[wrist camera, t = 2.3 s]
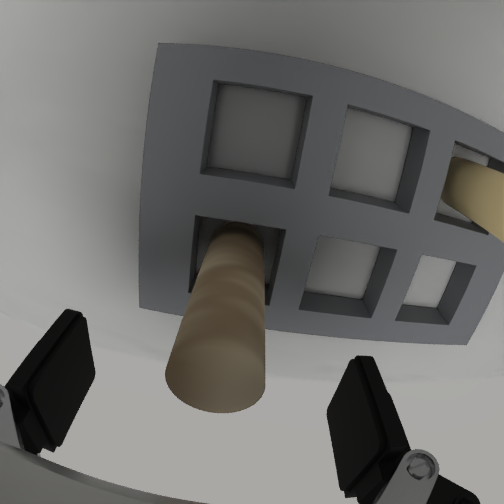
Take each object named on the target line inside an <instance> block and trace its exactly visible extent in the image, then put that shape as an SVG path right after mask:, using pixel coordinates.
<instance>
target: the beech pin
mask: <svg viewBox="0 0 504 504" xmlns="http://www.w3.org/2000/svg"><path fill="white" fill-rule="evenodd" d="M165 378H166V382H167V385H168V387H169V388H170V390H171V391H172V393H173V394H174V395H175V396H177V398H179V399H180V400H181V401H183V402H184V403H186V404H188V405H190V406H192V407H194V408H197V409H199V410H203V411H207V412H213V413H232V412H237V411H241V410H244V409H246V408H248V407H250V406H252V405H254V404H255V403H256V402H257V401H258V400H259V399H260V398H261V397H262V395H263V393H264V390H265V279H264V242H263V238H262V236H261V234H260V233H259V232H258V230H257V229H255V228H254V227H253V226H251V225H250V224H247V223H243V222H237V221H233V222H228V223H226V224H223V225H222V226H220V227H219V228H218V229H217V230H216V231H215V232H214V234H213V236H212V238H211V241H210V243H209V246H208V249H207V251H206V254H205V257H204V260H203V262H202V265H201V268H200V271H199V273H198V276H197V279H196V282H195V285H194V288H193V290H192V293H191V296H190V299H189V302H188V305H187V308H186V310H185V313H184V316H183V319H182V322H181V325H180V328H179V331H178V334H177V337H176V340H175V343H174V346H173V349H172V352H171V355H170V358H169V361H168V364H167V367H166V371H165Z"/></svg>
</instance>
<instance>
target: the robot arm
mask: <svg viewBox="0 0 504 504" xmlns="http://www.w3.org/2000/svg"><path fill="white" fill-rule="evenodd" d="M94 378H95V367H94V362H93V356H92V351H91V345H90V339H89V333H88V326H87V320H86V318H85V317H83V314H82V313H81V312H78V311H74V310H71V309H66V310H64V312H63V313H62V314H61V315H60V316H59V318H58V319H57V320H56V321H55V322H54V324H53V325H52V326H51V327H50V329H49V330H48V331H47V332H46V333H45V335H44V336H43V337H42V338H41V340H40V341H38V343H37V344H36V345H35V347H34V348H33V349H32V350H31V352H30V353H29V354H28V356H27V357H26V358H25V359H24V361H23V362H22V363H21V365H20V366H19V367H18V369H17V370H16V371H15V373H14V374H13V376H12V377H11V378H10V380H9V381H8V383H7V384H6V385H5V387H4V386H2V385H0V504H206V503H199V502H193V501H187V500H181V499H176V498H170V497H166V496H161V495H156V494H152V493H148V492H143V491H139V490H135V489H132V488H128V487H124V486H121V485H117V484H114V483H110V482H107V481H104V480H100V479H98V478H94V477H92V476H89V475H86V474H83V473H80V472H77V471H75V470H72V469H69V468H66V467H64V466H61V465H59V464H56V463H53V462H51V461H49V460H46V459H44V458H41V457H40V452H41V450H42V448H44V449H47V450H49V451H51V452H54V451H55V449H56V447H57V446H58V447H60V446H61V445H62V443H63V441H64V439H65V437H66V434H67V432H68V430H69V428H70V426H71V424H72V422H73V420H74V418H75V416H76V414H77V411H78V410H79V408H80V406H81V404H82V402H83V400H84V398H85V396H86V394H87V392H88V390H89V388H90V386H91V384H92V382H93V380H94ZM327 420H328V425H329V430H330V436H331V441H332V447H333V452H334V458H335V464H336V469H337V476H338V481H339V487H340V490H342V491H344V493H345V498H350V497H357V501H358V503H359V504H480V502H479V499H478V498H477V496H476V495H474V494H473V493H472V492H470V491H468V490H466V489H464V488H462V487H461V486H459V485H457V484H455V483H453V482H451V481H450V480H448V479H446V478H444V477H442V476H441V475H439V464H438V462H437V460H436V458H435V457H434V456H433V455H432V454H430V453H429V452H427V451H424V450H420V449H415V450H411V449H410V446H409V443H408V440H407V438H406V435H405V432H404V429H403V427H402V424H401V421H400V419H399V416H398V413H397V411H396V408H395V405H394V403H393V400H392V398H391V396H390V394H389V393H388V392H387V390H386V387H385V385H384V382H383V380H382V377H381V375H380V372H379V370H378V367H377V365H376V362H375V360H374V358H373V357H372V356H356V357H355V359H351V360H350V362H349V364H348V366H347V368H346V370H345V373H344V375H343V377H342V379H341V381H340V383H339V385H338V388H337V390H336V392H335V394H334V396H333V398H332V400H331V402H330V404H329V406H328V409H327Z"/></svg>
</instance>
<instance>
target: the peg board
mask: <svg viewBox="0 0 504 504" xmlns="http://www.w3.org/2000/svg"><path fill="white" fill-rule="evenodd" d="M219 83H220V84H229V85H237V86H244V87H251V88H257V89H264V90H270V91H275V92H281V93H286V94H292V95H297V96H302V97H306V98H307V100H306V106H305V111H304V116H303V122H302V127H301V132H300V137H299V143H298V148H297V153H296V158H295V163H294V168H293V173H292V178H291V180H287V179H281V178H276V177H270V176H264V175H258V174H252V173H246V172H239V171H233V170H226V169H219V168H212V167H207V160H208V153H209V146H210V139H211V132H212V125H213V118H214V112H215V105H216V99H217V93H218V87H219ZM347 107H349V108H352V109H356V110H360V111H363V112H367V113H370V114H374V115H377V116H381V117H384V118H387V119H390V120H393V121H396V122H400V123H403V124H406V125H409V126H411V127H413V131H412V136H411V140H410V145H409V149H408V153H407V158H406V162H405V166H404V170H403V174H402V178H401V182H400V185H399V189H398V193H397V196H396V200H395V202H391V201H386V200H382V199H378V198H374V197H369V196H365V195H361V194H356V193H352V192H347V191H342V190H338V189H333V188H330V186H331V182H332V178H333V173H334V169H335V164H336V160H337V155H338V150H339V146H340V141H341V136H342V131H343V126H344V121H345V116H346V111H347ZM454 143H457V144H459V145H461V146H464V147H466V148H468V149H471V150H473V151H475V152H478V153H480V154H482V155H484V156H486V157H489V158H490V160H489V164H488V167H486V166H483V165H480V164H478V163H475V162H472V161H469V160H466V159H464V158H460V157H454V158H451V156H452V152H453V147H454ZM440 198H441V199H442V201H443V202H445V203H446V204H448V205H449V206H451V207H452V208H454V209H455V210H457V211H459V212H460V213H462V214H463V215H465V216H466V217H468V218H469V219H471V220H472V223H468V222H465V221H462V220H458V219H455V218H451V217H448V216H444V215H441V214H437V213H436V211H437V208H438V204H439V201H440ZM201 216H205V217H211V218H218V219H224V220H230V221H237V222H243V223H249V224H256V225H262V226H268V227H274V228H280V229H281V232H280V237H279V242H278V247H277V251H276V256H275V261H274V265H273V270H272V275H271V279H270V284H269V287H267V286H265V329H269V330H277V331H284V332H292V333H301V334H310V335H319V336H328V337H338V338H349V339H361V340H373V341H387V342H402V343H421V344H446V345H467V343H468V342H469V340H470V338H471V336H472V335H473V333H474V331H475V329H476V327H477V326H478V324H479V322H480V320H481V318H482V316H483V314H484V312H485V310H486V308H487V306H488V304H489V302H490V300H491V298H492V296H493V294H494V292H495V290H496V288H497V285H498V283H499V281H500V279H501V276H502V274H503V272H504V133H503V132H501V131H500V130H498V129H496V128H494V127H492V126H490V125H488V124H486V123H484V122H482V121H480V120H478V119H476V118H474V117H472V116H470V115H468V114H466V113H464V112H462V111H460V110H458V109H455V108H453V107H451V106H449V105H446V104H444V103H442V102H439V101H437V100H435V99H432V98H430V97H427V96H425V95H422V94H420V93H417V92H414V91H412V90H409V89H406V88H403V87H401V86H398V85H395V84H392V83H389V82H386V81H383V80H380V79H377V78H374V77H370V76H367V75H364V74H360V73H357V72H354V71H350V70H346V69H343V68H339V67H335V66H331V65H327V64H323V63H318V62H314V61H309V60H305V59H300V58H295V57H290V56H285V55H279V54H273V53H267V52H261V51H254V50H246V49H239V48H230V47H220V46H209V45H195V44H174V43H158V48H157V54H156V60H155V66H154V72H153V78H152V85H151V92H150V99H149V107H148V115H147V124H146V133H145V143H144V154H143V166H142V180H141V197H140V220H139V308H144V309H149V310H154V311H159V312H164V313H169V314H175V315H180V316H184V313H185V310H186V308H187V305H188V302H189V299H190V296H191V293H192V290H193V288H194V285H195V282H196V279H197V275H195V267H196V256H197V246H198V236H199V227H200V217H201ZM319 235H321V236H326V237H332V238H338V239H343V240H349V241H354V242H360V243H365V244H370V245H376V246H381V249H380V252H379V255H378V258H377V261H376V264H375V267H374V270H373V273H372V276H371V279H370V281H369V284H368V287H367V290H366V292H365V295H364V298H363V300H361V299H353V298H345V297H338V296H330V295H323V294H316V293H308V292H304V289H305V285H306V281H307V278H308V274H309V270H310V267H311V263H312V259H313V255H314V251H315V248H316V244H317V240H318V236H319ZM421 255H427V256H432V257H437V258H442V259H447V260H452V261H457V264H456V266H455V269H454V271H453V273H452V276H451V278H450V281H449V283H448V285H447V288H446V290H445V292H444V294H443V297H442V299H441V301H440V303H439V305H438V307H437V308H428V307H419V306H410V305H402V303H403V301H404V298H405V296H406V294H407V291H408V289H409V286H410V284H411V281H412V279H413V276H414V274H415V271H416V269H417V266H418V263H419V261H420V258H421Z"/></svg>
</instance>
